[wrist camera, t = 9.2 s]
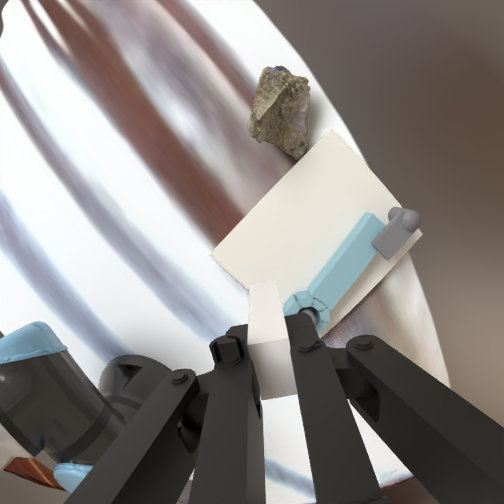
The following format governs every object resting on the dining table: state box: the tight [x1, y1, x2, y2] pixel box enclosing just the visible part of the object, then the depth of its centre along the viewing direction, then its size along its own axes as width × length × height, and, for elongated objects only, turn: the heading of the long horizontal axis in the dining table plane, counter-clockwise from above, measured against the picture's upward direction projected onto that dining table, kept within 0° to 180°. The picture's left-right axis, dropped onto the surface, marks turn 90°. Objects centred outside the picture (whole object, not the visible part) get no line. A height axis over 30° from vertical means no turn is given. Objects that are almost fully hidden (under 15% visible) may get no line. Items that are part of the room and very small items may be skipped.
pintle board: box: [210, 129, 422, 338], centre depth 36 cm, size 22×19×6 cm
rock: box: [247, 66, 310, 161], centre depth 33 cm, size 11×6×10 cm
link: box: [283, 212, 386, 335], centre depth 37 cm, size 18×6×2 cm, turn 144°
